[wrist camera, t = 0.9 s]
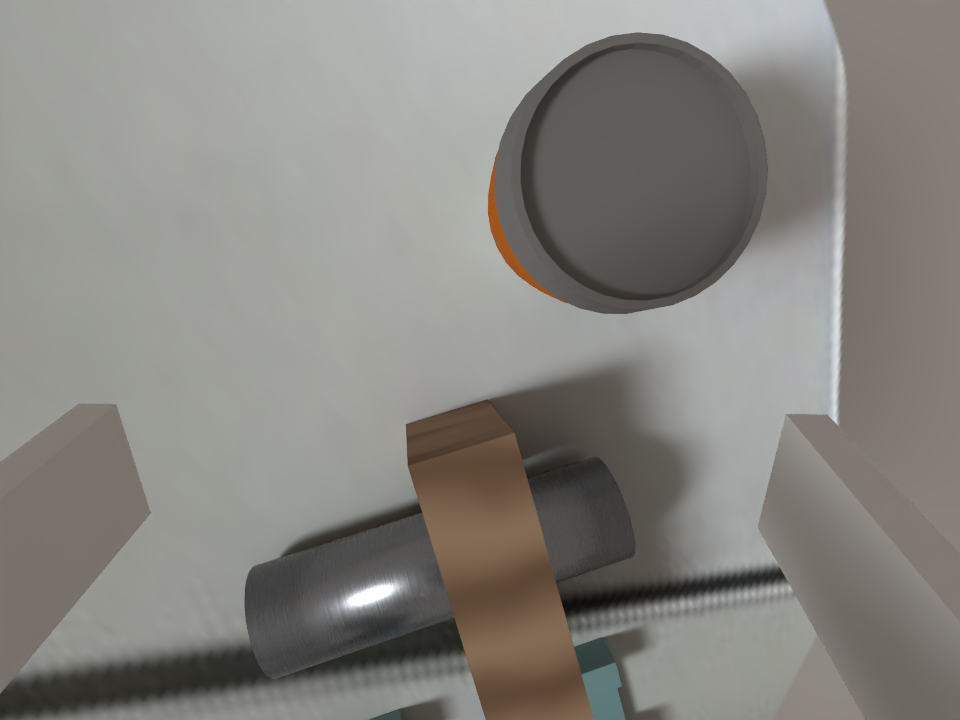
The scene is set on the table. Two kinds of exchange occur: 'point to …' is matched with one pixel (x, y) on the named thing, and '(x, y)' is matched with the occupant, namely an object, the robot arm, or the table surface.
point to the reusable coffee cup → (629, 176)
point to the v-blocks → (587, 682)
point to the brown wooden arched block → (495, 565)
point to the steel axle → (413, 573)
